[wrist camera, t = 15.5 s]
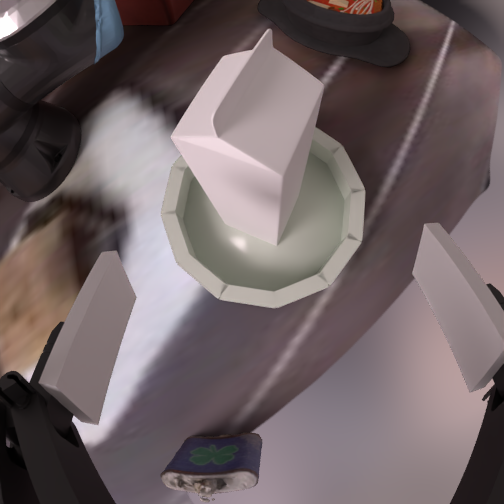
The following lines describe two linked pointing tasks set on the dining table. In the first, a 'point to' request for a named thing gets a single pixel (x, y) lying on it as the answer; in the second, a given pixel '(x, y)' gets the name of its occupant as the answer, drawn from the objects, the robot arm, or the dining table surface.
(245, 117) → the milk
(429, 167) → the dining table surface
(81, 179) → the dining table surface
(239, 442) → the flask
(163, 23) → the plant pot
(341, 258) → the bowl
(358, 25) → the casserole
